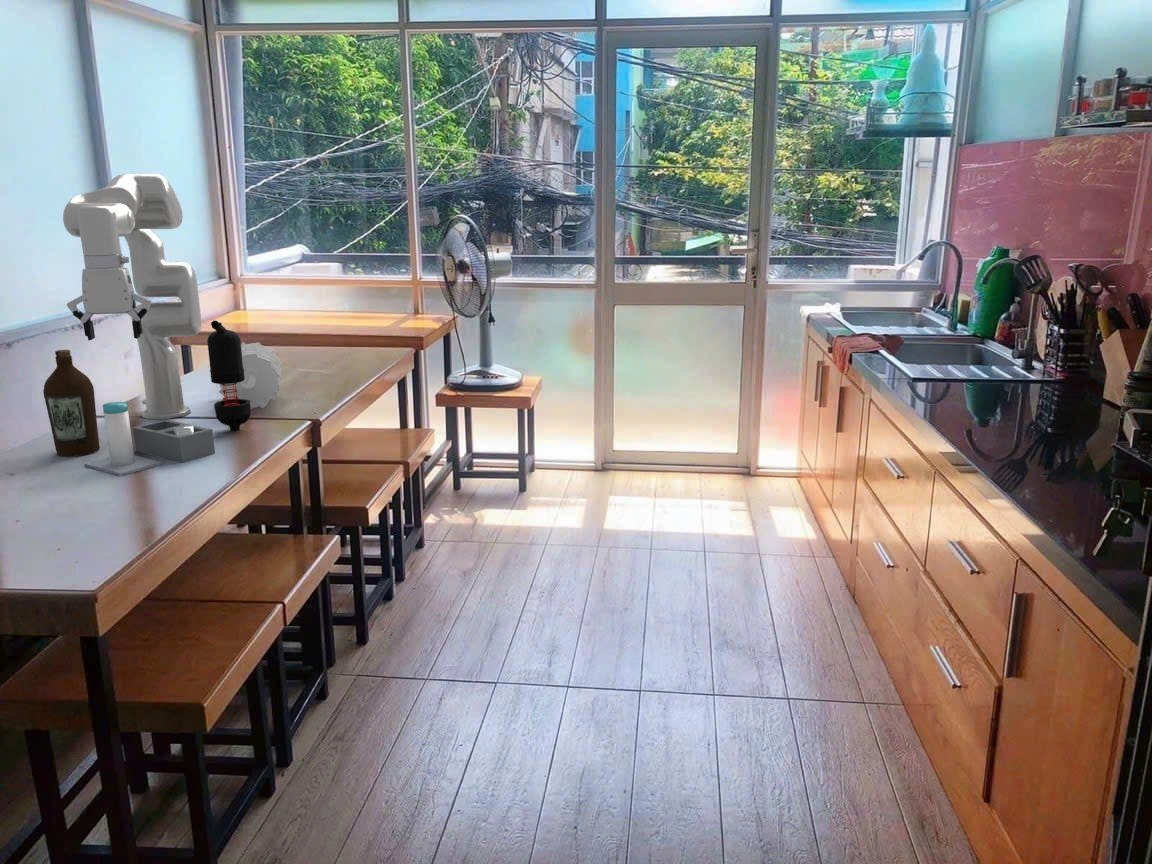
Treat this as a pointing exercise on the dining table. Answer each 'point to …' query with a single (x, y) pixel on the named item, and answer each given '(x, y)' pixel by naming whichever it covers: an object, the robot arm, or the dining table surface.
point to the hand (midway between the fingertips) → (114, 338)
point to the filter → (227, 375)
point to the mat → (123, 470)
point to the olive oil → (71, 408)
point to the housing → (173, 441)
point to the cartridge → (118, 433)
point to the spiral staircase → (257, 376)
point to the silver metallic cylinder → (183, 430)
